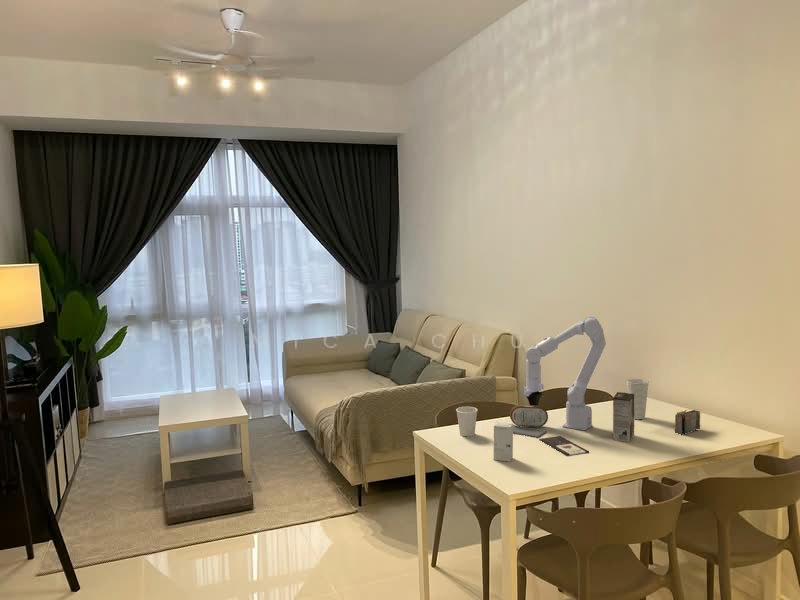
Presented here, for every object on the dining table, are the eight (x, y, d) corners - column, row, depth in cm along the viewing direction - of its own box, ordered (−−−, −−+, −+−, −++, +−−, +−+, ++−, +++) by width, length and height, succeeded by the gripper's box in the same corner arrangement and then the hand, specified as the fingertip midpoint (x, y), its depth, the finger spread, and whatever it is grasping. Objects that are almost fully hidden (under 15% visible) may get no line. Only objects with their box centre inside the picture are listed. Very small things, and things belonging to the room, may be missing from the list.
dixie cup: (462, 439, 228) (462, 413, 227) (452, 432, 235) (452, 408, 234) (482, 436, 231) (481, 410, 230) (471, 430, 238) (471, 405, 237)
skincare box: (493, 460, 205) (492, 425, 204) (496, 455, 209) (495, 421, 208) (511, 462, 202) (510, 427, 201) (513, 457, 207) (513, 423, 206)
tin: (547, 426, 241) (547, 405, 240) (548, 428, 237) (549, 406, 237) (509, 424, 242) (509, 403, 242) (509, 426, 239) (510, 405, 239)
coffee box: (616, 433, 230) (617, 391, 228) (634, 435, 226) (635, 393, 225) (612, 440, 222) (612, 397, 220) (630, 442, 219) (631, 399, 217)
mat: (546, 432, 233) (546, 430, 233) (537, 438, 226) (537, 436, 226) (506, 425, 243) (506, 423, 243) (497, 430, 237) (497, 429, 237)
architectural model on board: (682, 436, 225) (682, 411, 224) (675, 434, 227) (675, 409, 226) (701, 431, 230) (701, 406, 229) (693, 429, 233) (694, 404, 232)
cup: (623, 419, 247) (624, 382, 246) (629, 413, 254) (629, 377, 253) (645, 422, 242) (645, 384, 241) (650, 416, 249) (650, 380, 248)
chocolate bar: (560, 435, 227) (588, 451, 209) (560, 438, 227) (588, 453, 210) (539, 438, 224) (566, 454, 207) (539, 441, 224) (566, 457, 207)
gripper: (532, 372, 250) (532, 404, 251) (516, 379, 238) (516, 412, 240) (548, 374, 246) (548, 406, 247) (532, 381, 234) (533, 415, 235)
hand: (533, 409), depth 243 cm, fingers closed
